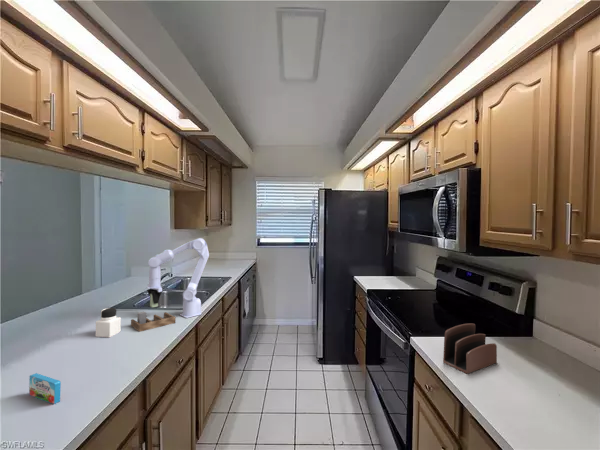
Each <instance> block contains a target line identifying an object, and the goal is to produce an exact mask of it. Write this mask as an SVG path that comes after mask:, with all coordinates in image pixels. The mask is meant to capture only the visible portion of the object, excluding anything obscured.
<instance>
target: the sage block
mask: <svg viewBox="0 0 600 450" xmlns="http://www.w3.org/2000/svg"><path fill="white" fill-rule="evenodd" d="M149 299H150V301H149V307H150V308H156V307H159V302H158V303H156V304H154V303H153V296H152V294H150V296H149Z"/></svg>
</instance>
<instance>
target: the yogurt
mask: <svg viewBox="0 0 600 450" xmlns="http://www.w3.org/2000/svg"><path fill="white" fill-rule="evenodd" d="M28 379H29V383H28V385H29V386H28V387H29V389H28V390H29V391H28V393H29V396H30V397H33V398H36V399H38V400H41V401H44V402H46V403H49V404H52V405H56V404H58V403H60V402H61V388H62V387H61V385H62V384H61V383H62V382H61V381H60V380H59V379H55V378H53V377H51V376H50V377H49V376H46V375H43V374H42V373H41V374H40V373H37V372H36V373H33V374H30V375H29V378H28Z"/></svg>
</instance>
